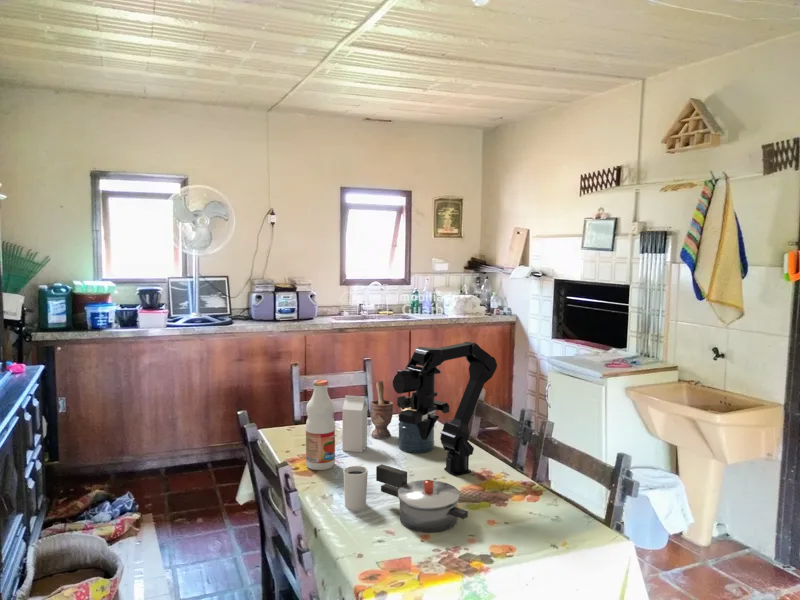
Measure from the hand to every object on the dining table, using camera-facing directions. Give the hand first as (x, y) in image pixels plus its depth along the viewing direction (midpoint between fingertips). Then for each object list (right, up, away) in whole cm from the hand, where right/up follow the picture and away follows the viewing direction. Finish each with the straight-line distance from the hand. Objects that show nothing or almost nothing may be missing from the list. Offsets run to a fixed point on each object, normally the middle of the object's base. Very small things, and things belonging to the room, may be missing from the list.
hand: (424, 439), depth 181 cm
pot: (-2, -15, -24) cm, 28 cm away
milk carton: (-23, -11, +30) cm, 40 cm away
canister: (-2, -11, +32) cm, 34 cm away
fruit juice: (-33, -12, +13) cm, 38 cm away
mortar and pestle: (-15, -9, +46) cm, 50 cm away
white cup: (-20, -14, -17) cm, 30 cm away
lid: (-3, -9, -23) cm, 25 cm away
